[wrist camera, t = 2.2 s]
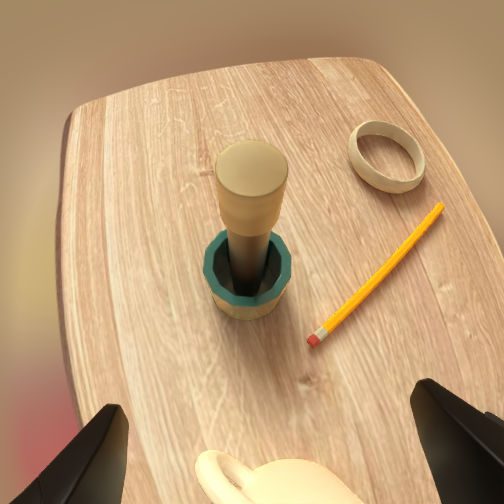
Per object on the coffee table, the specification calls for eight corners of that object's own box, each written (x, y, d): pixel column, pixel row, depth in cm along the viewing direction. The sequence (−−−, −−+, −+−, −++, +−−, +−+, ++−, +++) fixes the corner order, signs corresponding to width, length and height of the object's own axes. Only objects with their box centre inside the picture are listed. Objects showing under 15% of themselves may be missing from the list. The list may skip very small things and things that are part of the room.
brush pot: (256, 334, 22) (260, 324, 18) (197, 294, 23) (186, 274, 19) (294, 276, 24) (307, 252, 19) (237, 240, 25) (236, 209, 20)
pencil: (305, 340, 22) (307, 339, 21) (436, 204, 27) (440, 200, 26) (312, 348, 22) (314, 347, 21) (442, 210, 27) (445, 206, 26)
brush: (251, 306, 23) (263, 210, 10) (223, 288, 23) (199, 174, 10) (269, 279, 23) (301, 160, 10) (242, 262, 24) (242, 129, 11)
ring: (379, 208, 26) (388, 197, 25) (329, 142, 29) (334, 128, 27) (433, 180, 28) (442, 169, 26) (386, 123, 31) (392, 111, 29)
